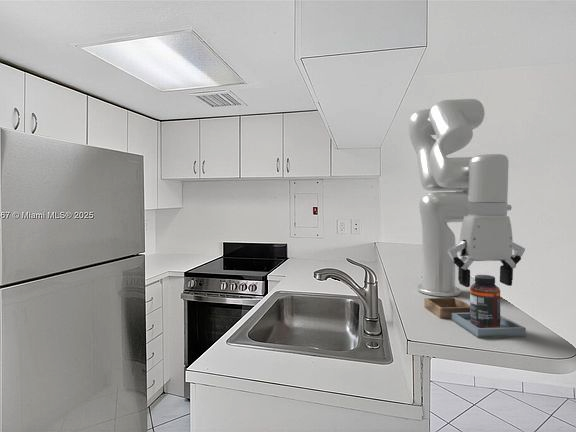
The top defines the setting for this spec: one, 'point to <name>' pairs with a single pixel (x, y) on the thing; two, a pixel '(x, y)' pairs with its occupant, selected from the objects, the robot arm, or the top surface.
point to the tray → (505, 329)
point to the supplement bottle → (485, 302)
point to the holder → (446, 306)
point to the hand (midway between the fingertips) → (485, 284)
